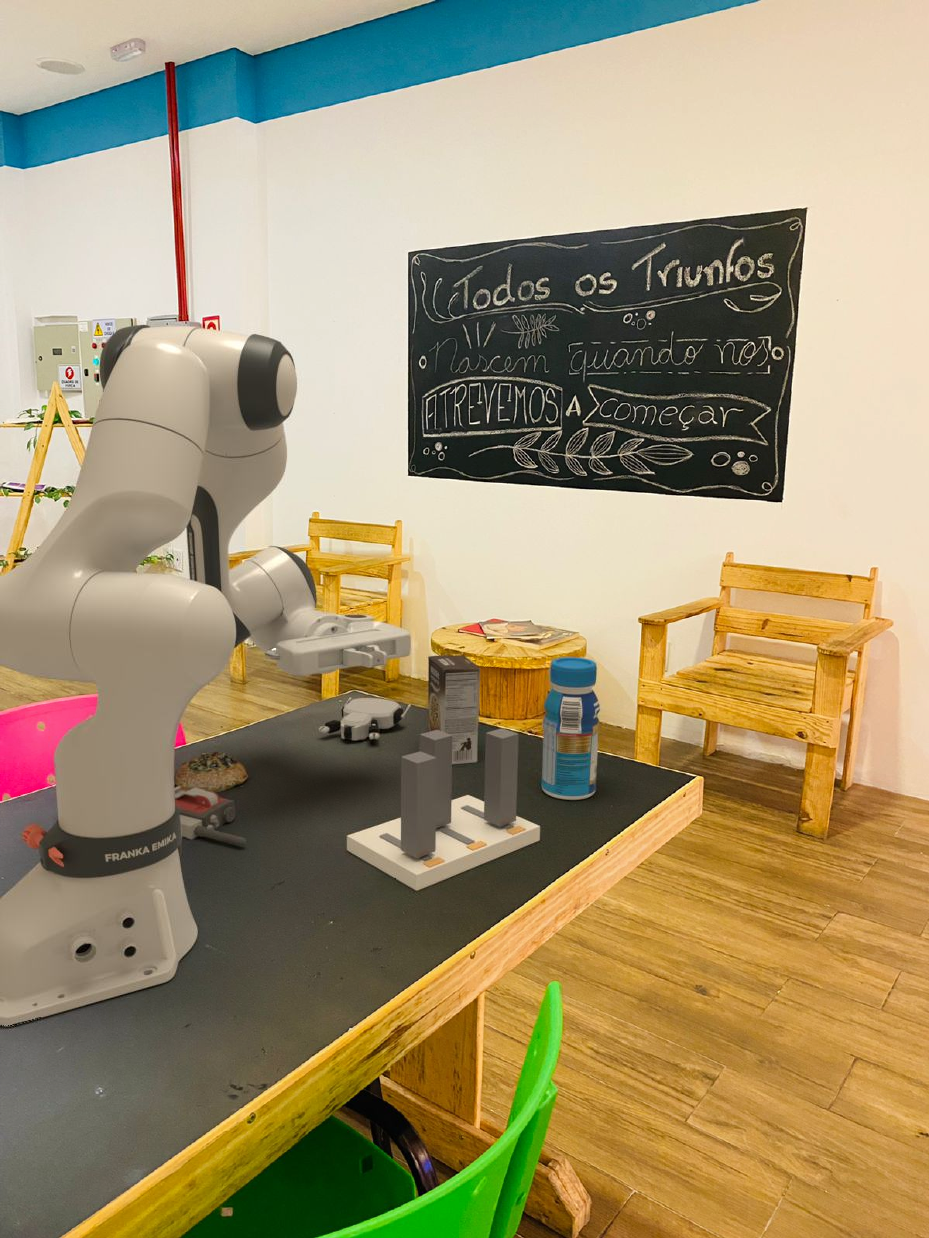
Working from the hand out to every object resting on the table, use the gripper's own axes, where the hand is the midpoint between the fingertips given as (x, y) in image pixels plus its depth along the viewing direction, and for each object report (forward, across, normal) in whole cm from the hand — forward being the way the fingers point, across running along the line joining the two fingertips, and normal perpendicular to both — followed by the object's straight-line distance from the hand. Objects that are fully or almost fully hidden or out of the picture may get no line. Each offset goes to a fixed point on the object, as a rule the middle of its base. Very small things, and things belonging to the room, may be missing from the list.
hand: (378, 660), depth 125 cm
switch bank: (+14, 0, +22) cm, 26 cm away
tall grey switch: (+17, -7, +19) cm, 27 cm away
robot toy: (-30, +20, +22) cm, 42 cm away
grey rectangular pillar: (+12, 0, +19) cm, 23 cm away
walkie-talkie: (-12, -21, +23) cm, 33 cm away
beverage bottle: (+12, +26, +22) cm, 37 cm away
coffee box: (-11, +24, +22) cm, 34 cm away
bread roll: (-26, -12, +22) cm, 36 cm away
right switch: (+17, +7, +19) cm, 27 cm away
